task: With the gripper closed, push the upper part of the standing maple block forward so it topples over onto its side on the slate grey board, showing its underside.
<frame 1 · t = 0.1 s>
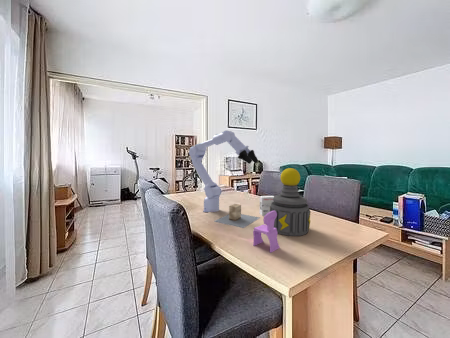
hand: (254, 162, 117), 32 cm above the table, tool tilted 50°, fingers open, 7 cm apart
decorative lamp: (288, 229, 104), on the table
maple block: (235, 218, 117), point 1 cm above the table, touching slate board
slate board: (237, 221, 116), on the table
toy chair: (265, 247, 85), on the table
ink box: (267, 216, 126), on the table
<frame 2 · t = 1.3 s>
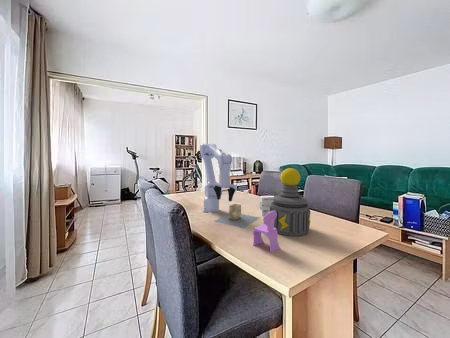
hand: (224, 200, 120), 10 cm above the table, tool pointing down, fingers open, 7 cm apart
nothing on the table moved.
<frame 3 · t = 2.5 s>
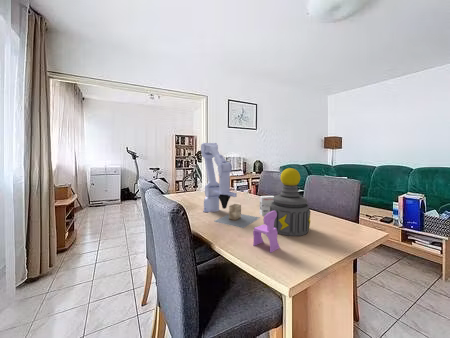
hand: (224, 208, 120), 6 cm above the table, tool pointing down, fingers closed
nothing on the table moved.
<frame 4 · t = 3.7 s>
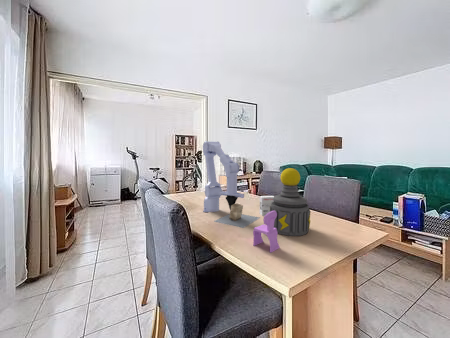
hand: (231, 209, 118), 6 cm above the table, tool pointing down, fingers closed
maple block: (235, 218, 117), point 1 cm above the table, tilted 10°, touching gripper, slate board
everything else where it was.
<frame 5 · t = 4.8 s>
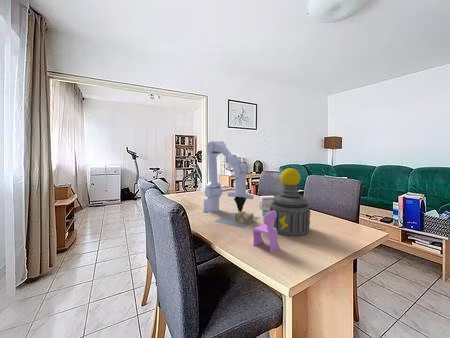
hand: (240, 210, 115), 6 cm above the table, tool pointing down, fingers closed
maple block: (238, 215, 116), point 3 cm above the table, tilted 90°, touching slate board
everything else where it was.
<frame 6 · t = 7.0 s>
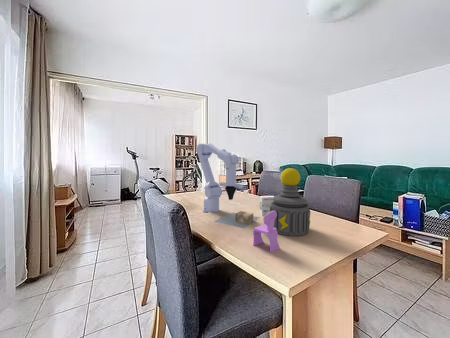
hand: (230, 199, 122), 10 cm above the table, tool pointing down, fingers closed
nothing on the table moved.
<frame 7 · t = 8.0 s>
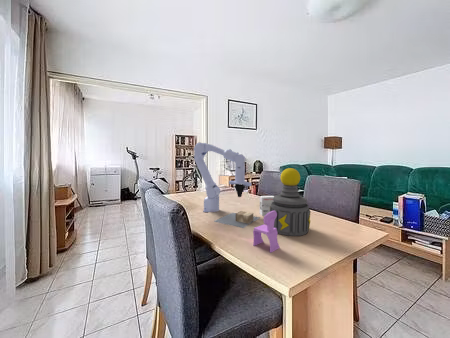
hand: (239, 196, 130), 10 cm above the table, tool pointing down, fingers closed
nothing on the table moved.
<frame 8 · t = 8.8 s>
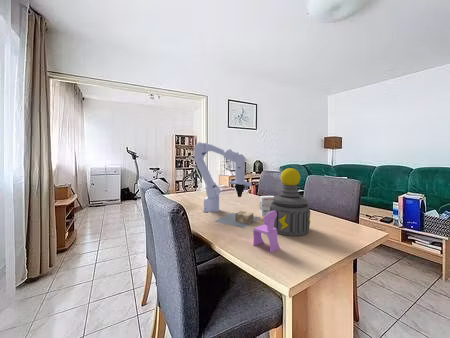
hand: (239, 196, 130), 10 cm above the table, tool pointing down, fingers closed
nothing on the table moved.
at the end: maple block tilted 90°; maple block inside the target area (2.5 cm from its centre), point 3.0 cm above the table; the gripper is holding nothing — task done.
